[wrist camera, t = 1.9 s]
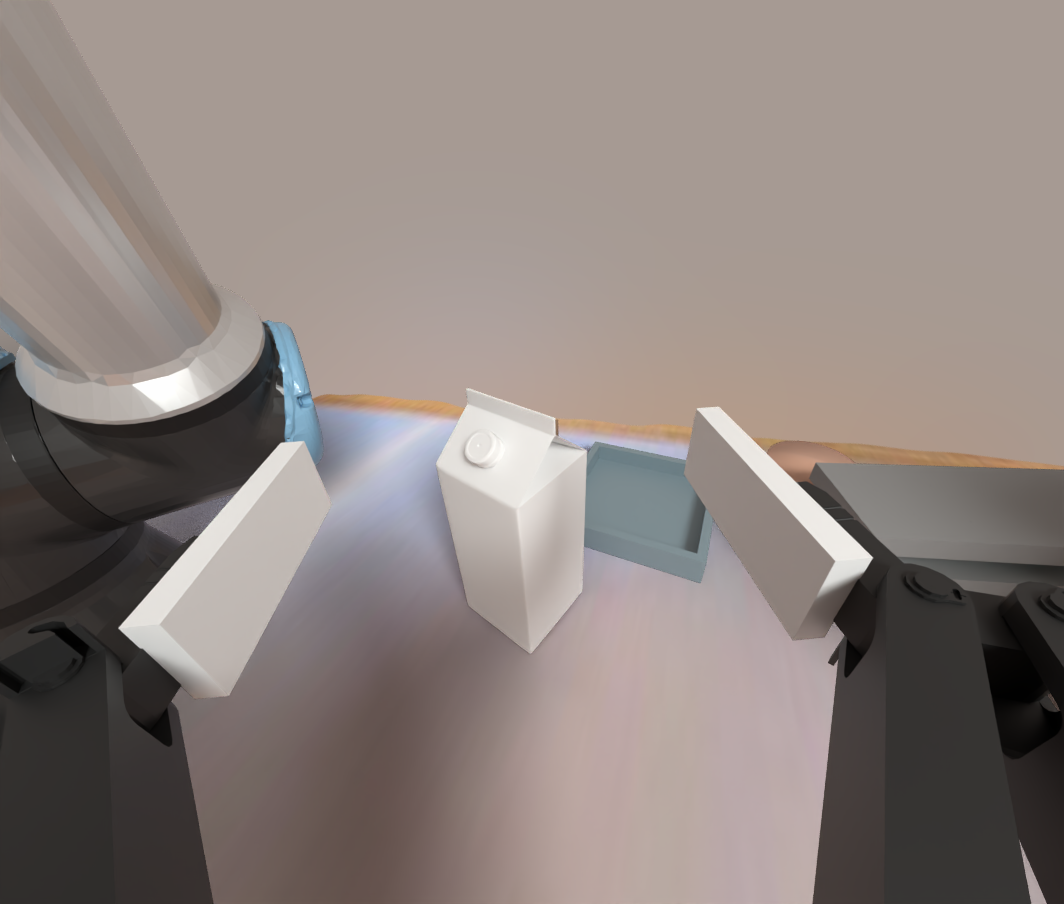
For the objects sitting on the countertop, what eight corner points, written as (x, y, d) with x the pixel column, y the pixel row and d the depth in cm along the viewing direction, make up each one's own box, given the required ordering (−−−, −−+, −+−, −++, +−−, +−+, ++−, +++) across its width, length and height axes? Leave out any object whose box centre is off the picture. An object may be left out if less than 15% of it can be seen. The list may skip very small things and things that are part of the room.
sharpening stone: (813, 638, 30) (875, 537, 24) (774, 558, 37) (815, 462, 30) (1212, 671, 27) (1401, 564, 21) (1092, 577, 33) (1210, 473, 27)
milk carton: (521, 554, 38) (503, 370, 28) (583, 592, 34) (589, 395, 24) (467, 606, 34) (421, 410, 23) (531, 656, 30) (511, 448, 19)
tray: (548, 534, 40) (547, 516, 39) (594, 458, 51) (595, 441, 50) (700, 583, 35) (706, 563, 33) (716, 485, 45) (721, 467, 44)
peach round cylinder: (743, 539, 39) (766, 474, 34) (747, 496, 44) (768, 434, 39) (828, 563, 36) (866, 495, 31) (822, 514, 41) (854, 450, 36)
